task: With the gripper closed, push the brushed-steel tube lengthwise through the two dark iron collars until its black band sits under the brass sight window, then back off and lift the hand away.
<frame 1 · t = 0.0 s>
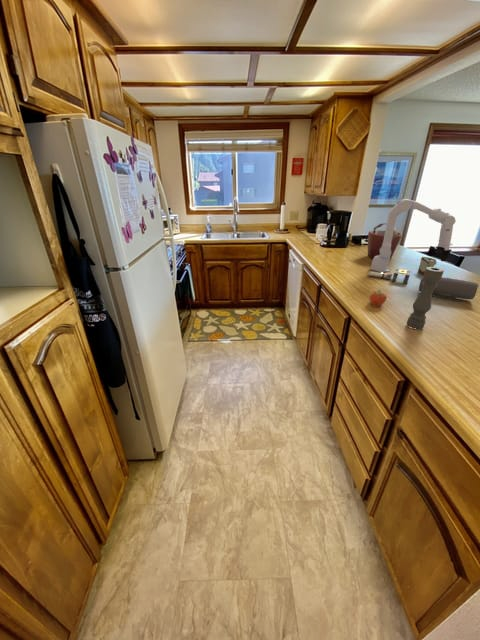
hand: (441, 259, 161), 11 cm above the countertop, tool pointing down, fingers open, 7 cm apart
tomato: (375, 305, 130), on the countertop
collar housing: (394, 279, 160), on the countertop
candle holder: (414, 326, 111), on the countertop
bluetooth speaker: (442, 297, 138), on the countertop
bucket: (380, 257, 204), on the countertop
food container: (425, 275, 168), on the countertop
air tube: (379, 275, 164), point 2 cm above the countertop, slide at 0.0 cm
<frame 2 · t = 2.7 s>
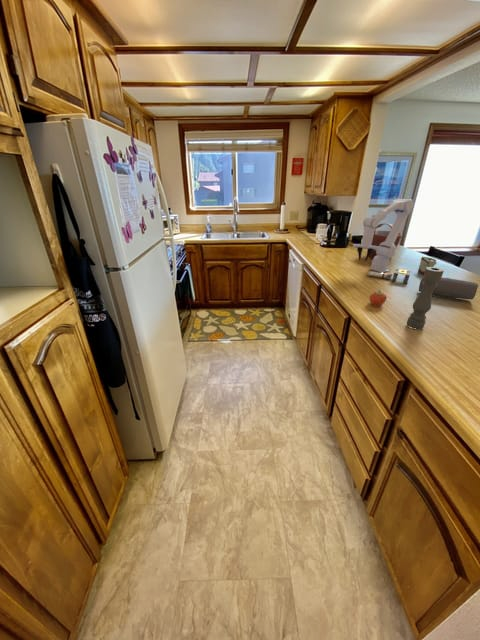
hand: (362, 260, 165), 9 cm above the countertop, tool pointing down, fingers open, 3 cm apart
nothing on the countertop moved.
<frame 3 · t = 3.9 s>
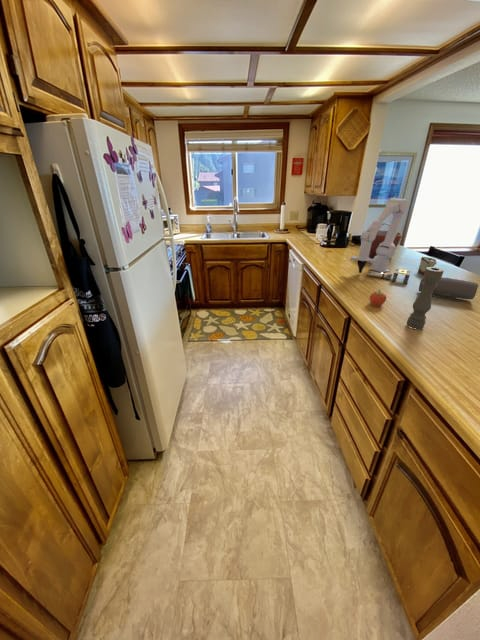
hand: (360, 272, 169), 1 cm above the countertop, tool pointing down, fingers closed
nothing on the countertop moved.
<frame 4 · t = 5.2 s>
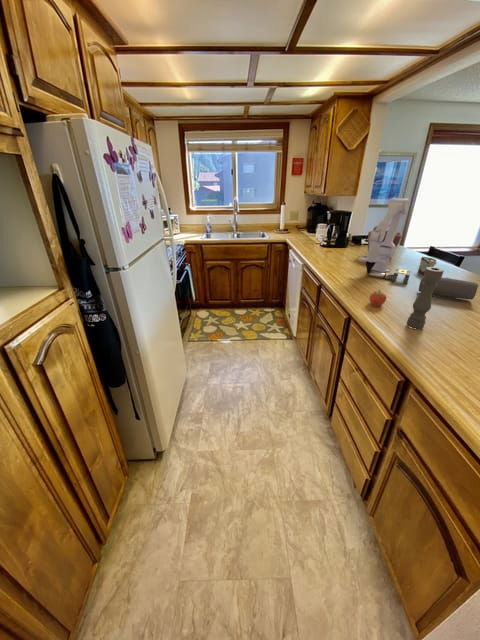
hand: (368, 273, 167), 1 cm above the countertop, tool pointing down, fingers closed
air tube: (381, 275, 163), point 2 cm above the countertop, slide at 0.9 cm, touching gripper
everything else where it was.
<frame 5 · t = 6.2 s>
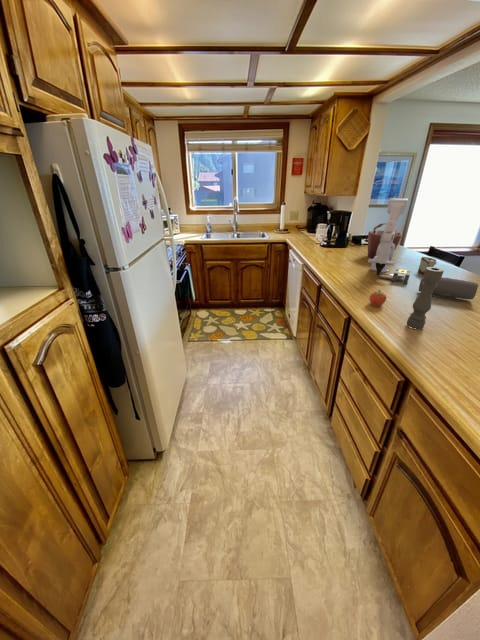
hand: (377, 275, 164), 1 cm above the countertop, tool pointing down, fingers closed
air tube: (391, 276, 160), point 2 cm above the countertop, slide at 6.7 cm, touching gripper
everything else where it was.
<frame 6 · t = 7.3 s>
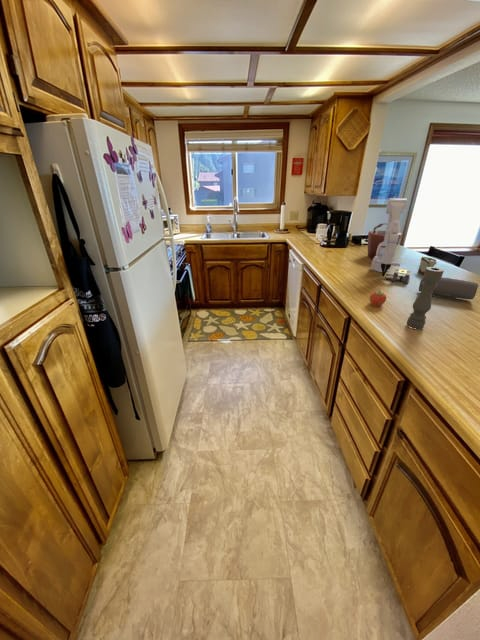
hand: (383, 275, 163), 1 cm above the countertop, tool pointing down, fingers closed
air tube: (397, 277, 159), point 2 cm above the countertop, slide at 9.6 cm, touching gripper
everything else where it was.
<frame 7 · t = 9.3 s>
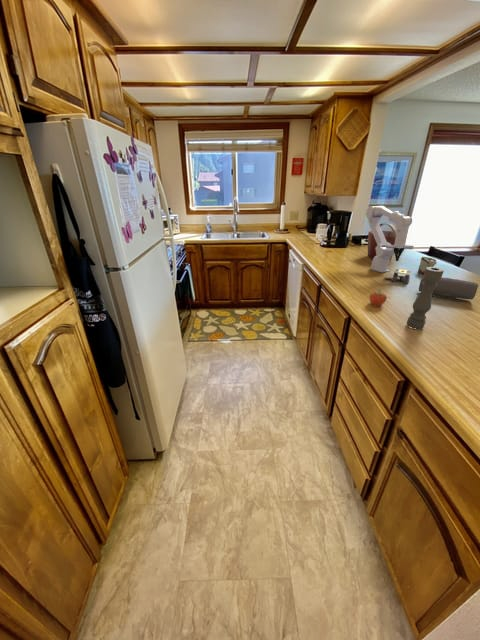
hand: (396, 260, 163), 10 cm above the countertop, tool pointing down, fingers closed
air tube: (397, 277, 159), point 2 cm above the countertop, slide at 9.6 cm
everything else where it was.
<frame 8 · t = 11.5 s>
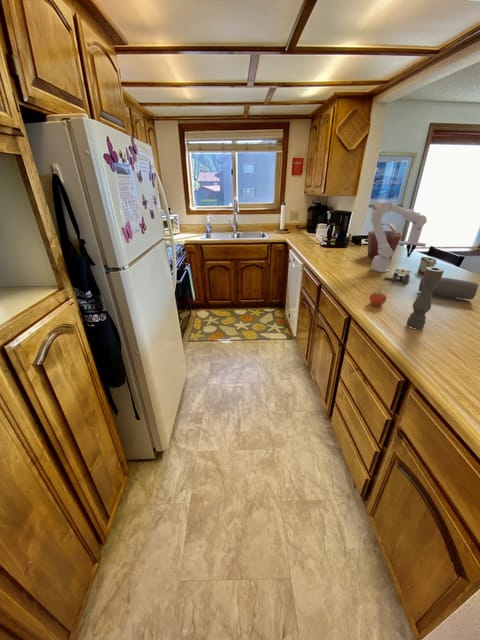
hand: (408, 256, 171), 9 cm above the countertop, tool pointing down, fingers closed
nothing on the countertop moved.
at the end: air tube slide at 9.6 cm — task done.
